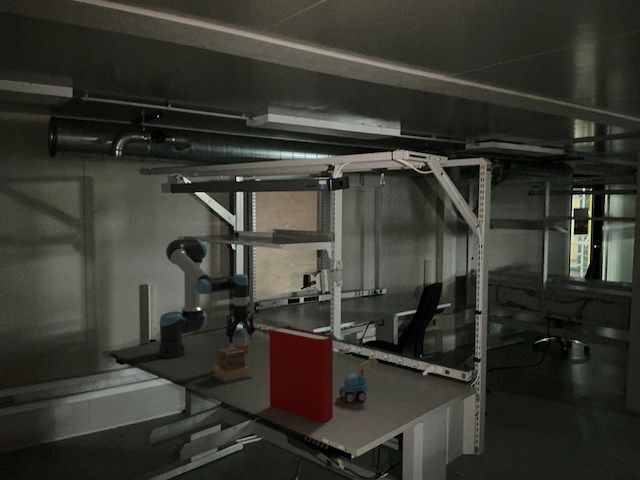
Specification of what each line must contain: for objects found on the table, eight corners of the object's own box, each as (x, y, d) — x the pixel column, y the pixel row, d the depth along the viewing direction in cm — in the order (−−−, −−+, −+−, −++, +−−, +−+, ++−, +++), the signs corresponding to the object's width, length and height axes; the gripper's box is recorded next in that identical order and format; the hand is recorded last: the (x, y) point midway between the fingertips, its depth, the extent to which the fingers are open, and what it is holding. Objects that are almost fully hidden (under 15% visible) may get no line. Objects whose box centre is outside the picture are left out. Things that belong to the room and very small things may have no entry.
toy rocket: (247, 361, 256) (241, 333, 253) (227, 363, 258) (221, 335, 255) (253, 352, 266) (247, 326, 263) (234, 354, 268) (228, 328, 265)
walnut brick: (218, 366, 246) (218, 349, 245) (235, 362, 251) (234, 347, 251) (227, 371, 238) (227, 354, 238) (244, 367, 243) (244, 351, 243)
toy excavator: (381, 399, 215) (381, 359, 214) (344, 403, 210) (344, 363, 210) (373, 392, 223) (373, 354, 223) (337, 396, 219) (337, 357, 218)
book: (269, 406, 208) (269, 329, 206) (283, 400, 214) (282, 326, 212) (321, 423, 190) (321, 339, 189) (334, 417, 197) (334, 335, 195)
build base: (212, 376, 246) (211, 366, 246) (237, 370, 255) (237, 361, 254) (225, 384, 235) (224, 373, 235) (251, 378, 243) (251, 367, 243)
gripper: (225, 308, 251) (225, 352, 253) (261, 303, 264) (261, 346, 266) (218, 305, 257) (218, 349, 259) (254, 301, 270) (254, 343, 272)
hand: (240, 347), depth 262 cm, fingers closed on toy rocket, 8 cm apart
